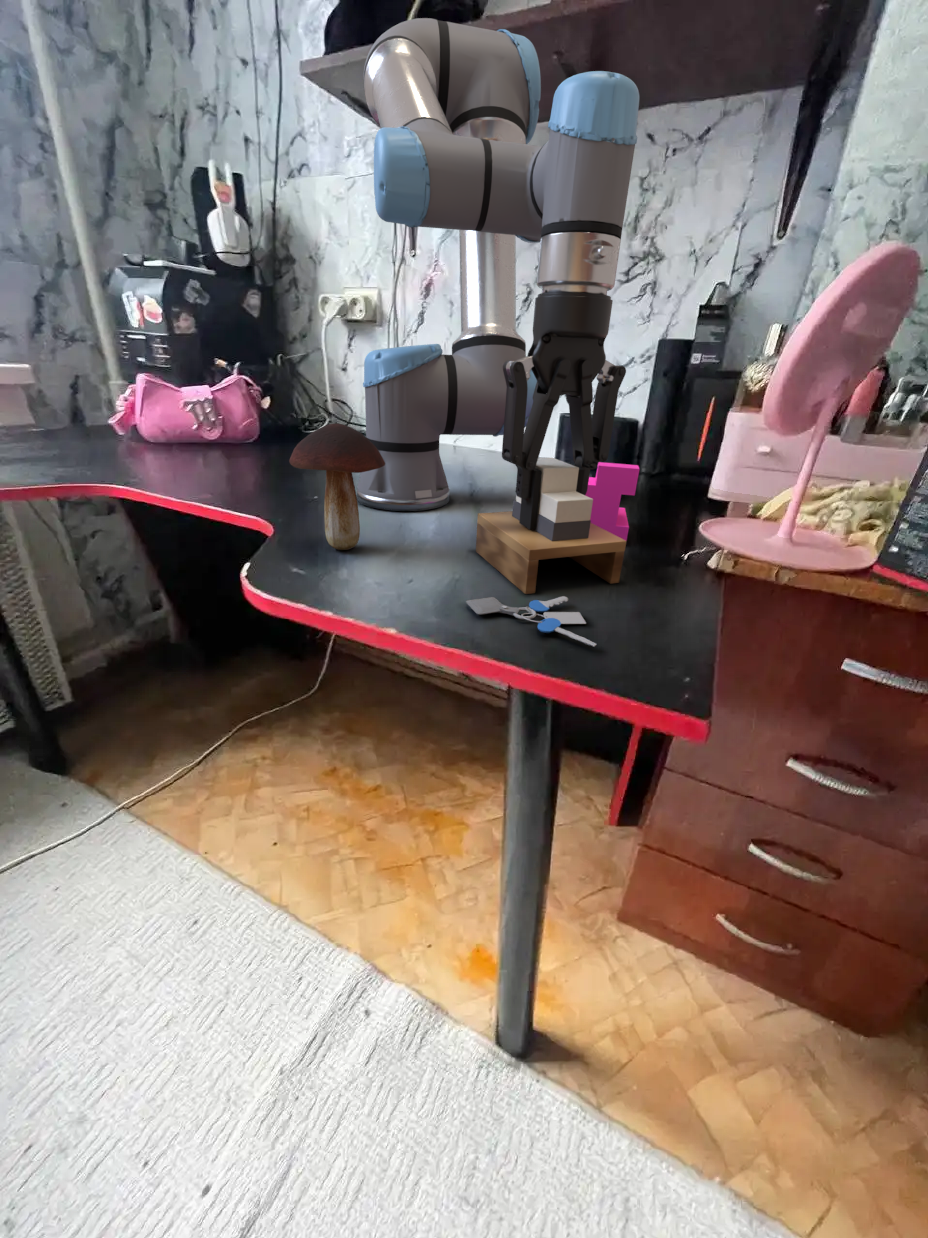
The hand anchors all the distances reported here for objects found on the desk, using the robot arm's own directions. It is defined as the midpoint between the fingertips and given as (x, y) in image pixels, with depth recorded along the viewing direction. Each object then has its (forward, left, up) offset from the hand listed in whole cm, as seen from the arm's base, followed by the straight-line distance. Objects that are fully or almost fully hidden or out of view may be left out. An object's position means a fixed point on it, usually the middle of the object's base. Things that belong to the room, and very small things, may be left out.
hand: (548, 524), depth 64 cm
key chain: (+12, -7, -5) cm, 15 cm away
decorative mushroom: (-12, -22, -6) cm, 26 cm away
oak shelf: (0, 0, -5) cm, 5 cm away
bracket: (-12, +14, -5) cm, 19 cm away
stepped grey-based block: (0, 0, 0) cm, 0 cm away
